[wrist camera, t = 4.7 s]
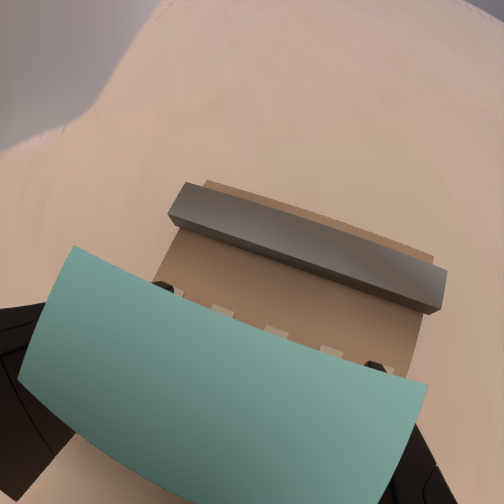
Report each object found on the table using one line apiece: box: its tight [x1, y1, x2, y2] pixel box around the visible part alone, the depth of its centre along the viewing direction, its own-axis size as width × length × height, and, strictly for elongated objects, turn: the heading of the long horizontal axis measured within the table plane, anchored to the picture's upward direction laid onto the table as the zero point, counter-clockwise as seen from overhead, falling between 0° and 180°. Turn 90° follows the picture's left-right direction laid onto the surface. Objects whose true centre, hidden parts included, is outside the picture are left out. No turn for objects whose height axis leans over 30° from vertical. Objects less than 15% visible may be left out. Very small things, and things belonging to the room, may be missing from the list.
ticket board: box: [153, 180, 447, 379], centre depth 14 cm, size 6×13×4 cm, turn 67°
